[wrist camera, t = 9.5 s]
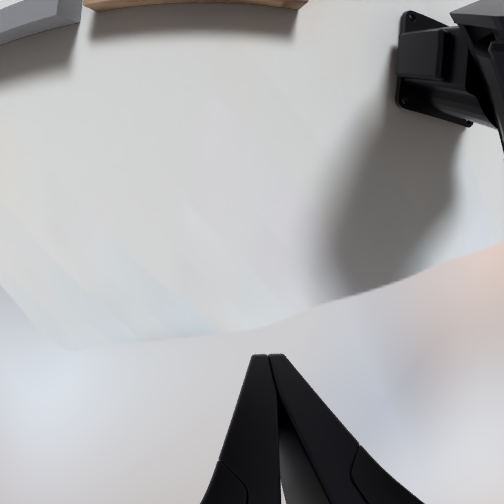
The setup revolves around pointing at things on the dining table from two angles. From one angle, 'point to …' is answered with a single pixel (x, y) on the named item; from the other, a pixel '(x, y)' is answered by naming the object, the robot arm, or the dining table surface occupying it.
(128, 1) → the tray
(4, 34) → the bay
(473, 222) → the dining table surface
